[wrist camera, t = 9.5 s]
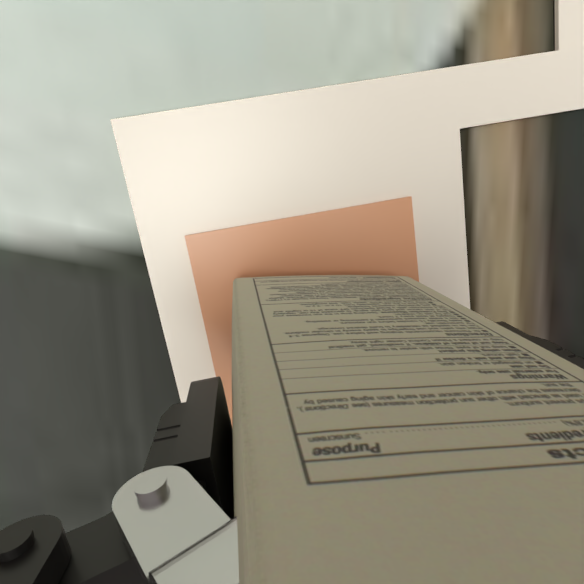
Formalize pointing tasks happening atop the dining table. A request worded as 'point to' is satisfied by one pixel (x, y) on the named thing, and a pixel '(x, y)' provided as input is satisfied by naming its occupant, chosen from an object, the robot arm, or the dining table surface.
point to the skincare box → (399, 439)
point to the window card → (321, 185)
